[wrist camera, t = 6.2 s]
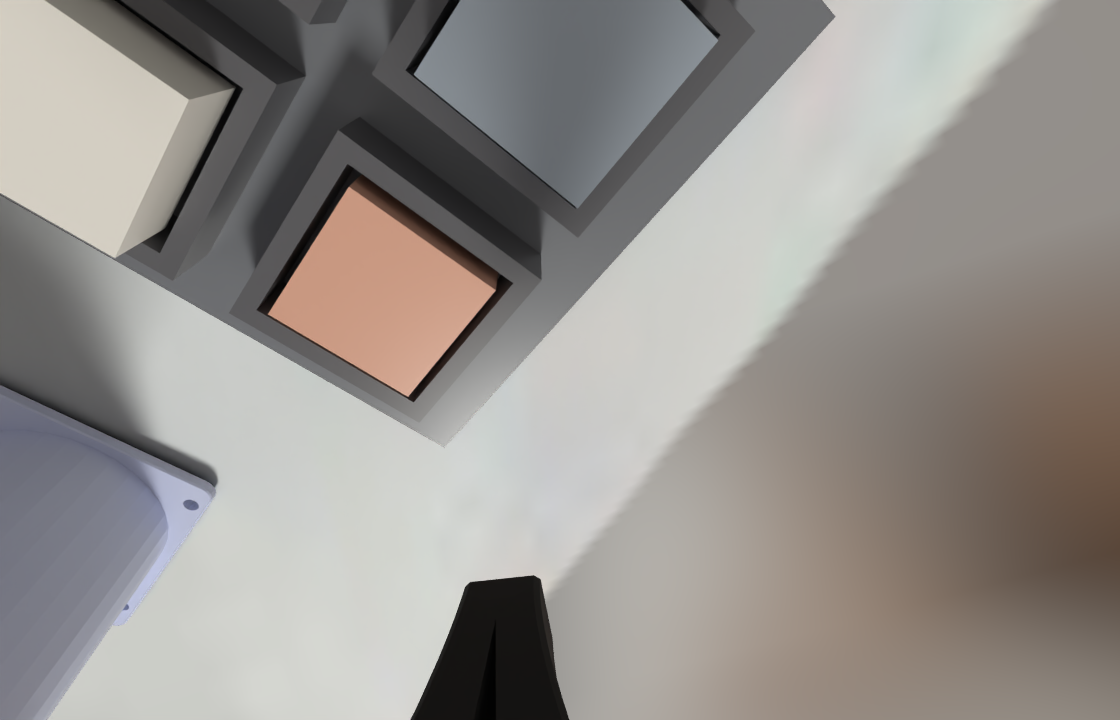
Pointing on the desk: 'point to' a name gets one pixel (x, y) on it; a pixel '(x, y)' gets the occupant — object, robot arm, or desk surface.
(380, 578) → the desk surface
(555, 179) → the slate key
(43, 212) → the cream key
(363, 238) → the terracotta key
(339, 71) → the keypad
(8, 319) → the desk surface
